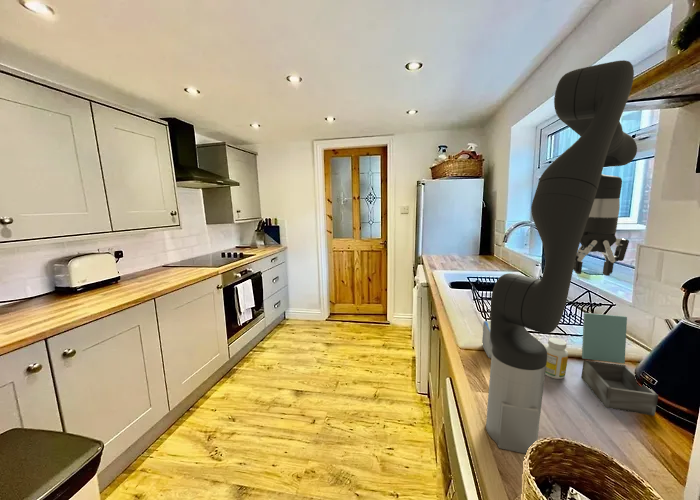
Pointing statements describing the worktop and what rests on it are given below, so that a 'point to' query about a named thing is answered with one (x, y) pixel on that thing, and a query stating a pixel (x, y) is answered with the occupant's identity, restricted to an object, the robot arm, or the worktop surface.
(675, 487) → the worktop surface
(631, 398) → the storage box
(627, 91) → the robot arm
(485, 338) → the medicine box
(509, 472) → the worktop surface
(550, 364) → the supplement bottle
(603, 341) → the lid
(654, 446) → the worktop surface
